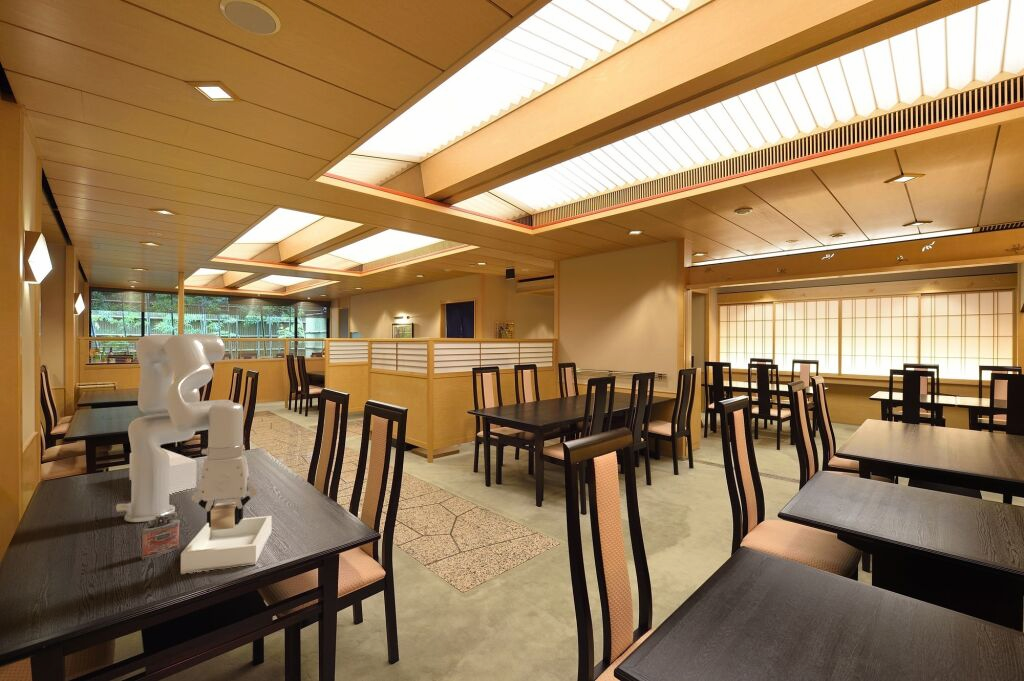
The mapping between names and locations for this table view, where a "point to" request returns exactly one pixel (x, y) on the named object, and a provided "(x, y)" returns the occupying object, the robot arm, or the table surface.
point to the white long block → (178, 472)
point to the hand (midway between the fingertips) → (225, 523)
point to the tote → (227, 546)
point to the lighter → (160, 536)
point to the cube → (223, 516)
